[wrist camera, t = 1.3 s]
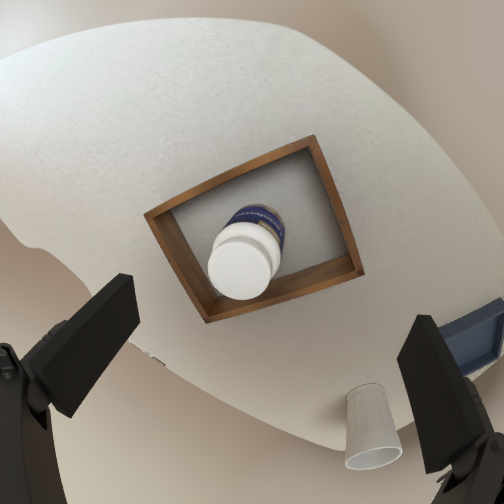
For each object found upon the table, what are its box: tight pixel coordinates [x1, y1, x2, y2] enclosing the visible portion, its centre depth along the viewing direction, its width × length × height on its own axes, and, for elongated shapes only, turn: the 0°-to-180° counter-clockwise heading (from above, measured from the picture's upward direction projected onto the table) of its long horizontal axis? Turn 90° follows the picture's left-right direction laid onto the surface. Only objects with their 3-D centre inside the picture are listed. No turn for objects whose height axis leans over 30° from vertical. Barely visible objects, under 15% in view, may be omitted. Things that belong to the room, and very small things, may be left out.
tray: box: [438, 298, 504, 377], centre depth 30 cm, size 15×11×3 cm
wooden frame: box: [143, 134, 365, 324], centre depth 27 cm, size 18×14×4 cm
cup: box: [345, 384, 402, 470], centre depth 31 cm, size 8×8×12 cm
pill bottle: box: [208, 204, 285, 300], centre depth 24 cm, size 6×6×10 cm
